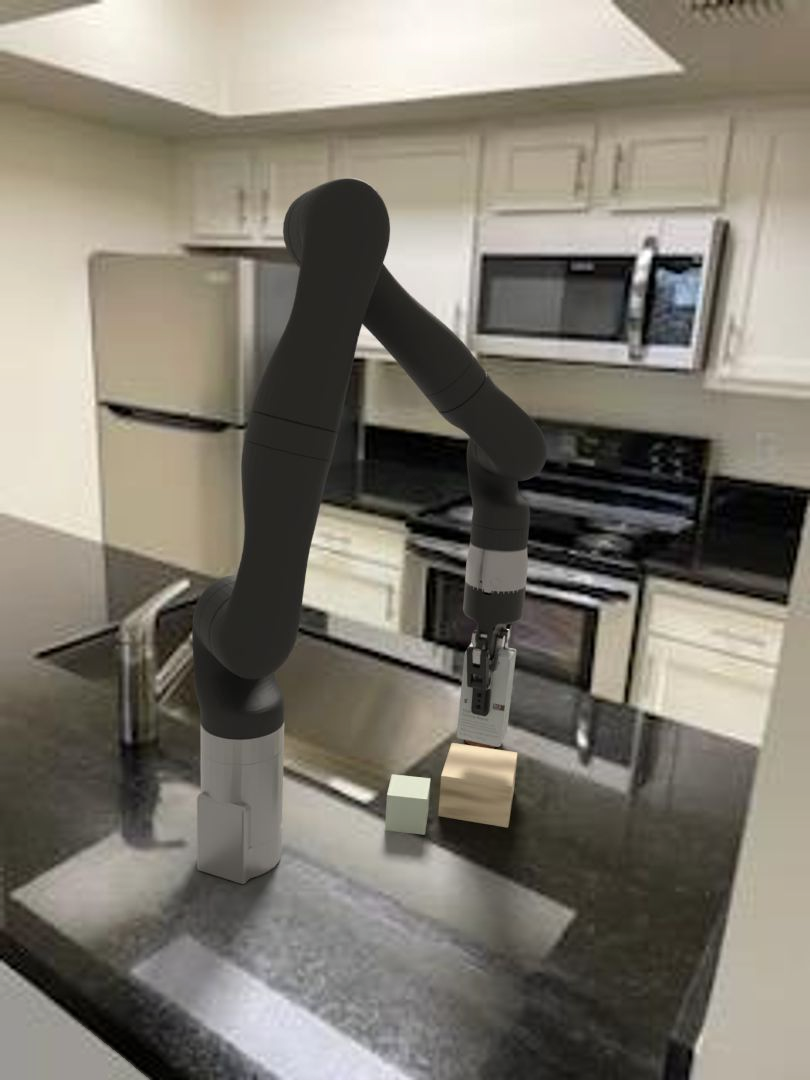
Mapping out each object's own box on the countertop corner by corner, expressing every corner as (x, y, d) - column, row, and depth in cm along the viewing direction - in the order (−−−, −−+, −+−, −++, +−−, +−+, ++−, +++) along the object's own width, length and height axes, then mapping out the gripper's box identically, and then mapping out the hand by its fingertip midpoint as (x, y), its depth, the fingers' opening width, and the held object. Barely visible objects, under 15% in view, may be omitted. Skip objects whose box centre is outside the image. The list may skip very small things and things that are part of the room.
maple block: (507, 828, 107) (511, 786, 105) (438, 817, 108) (441, 775, 107) (513, 792, 115) (517, 752, 114) (448, 781, 117) (451, 742, 115)
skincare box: (455, 739, 108) (461, 652, 105) (464, 723, 112) (470, 639, 109) (502, 748, 106) (510, 660, 103) (509, 732, 111) (517, 647, 107)
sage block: (424, 835, 104) (427, 799, 103) (384, 830, 104) (387, 795, 103) (428, 812, 109) (430, 778, 108) (389, 808, 109) (391, 774, 108)
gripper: (481, 561, 112) (472, 680, 116) (449, 590, 99) (440, 723, 103) (537, 569, 109) (525, 691, 113) (511, 600, 96) (499, 736, 100)
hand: (485, 705), depth 108 cm, fingers closed on skincare box, 4 cm apart
